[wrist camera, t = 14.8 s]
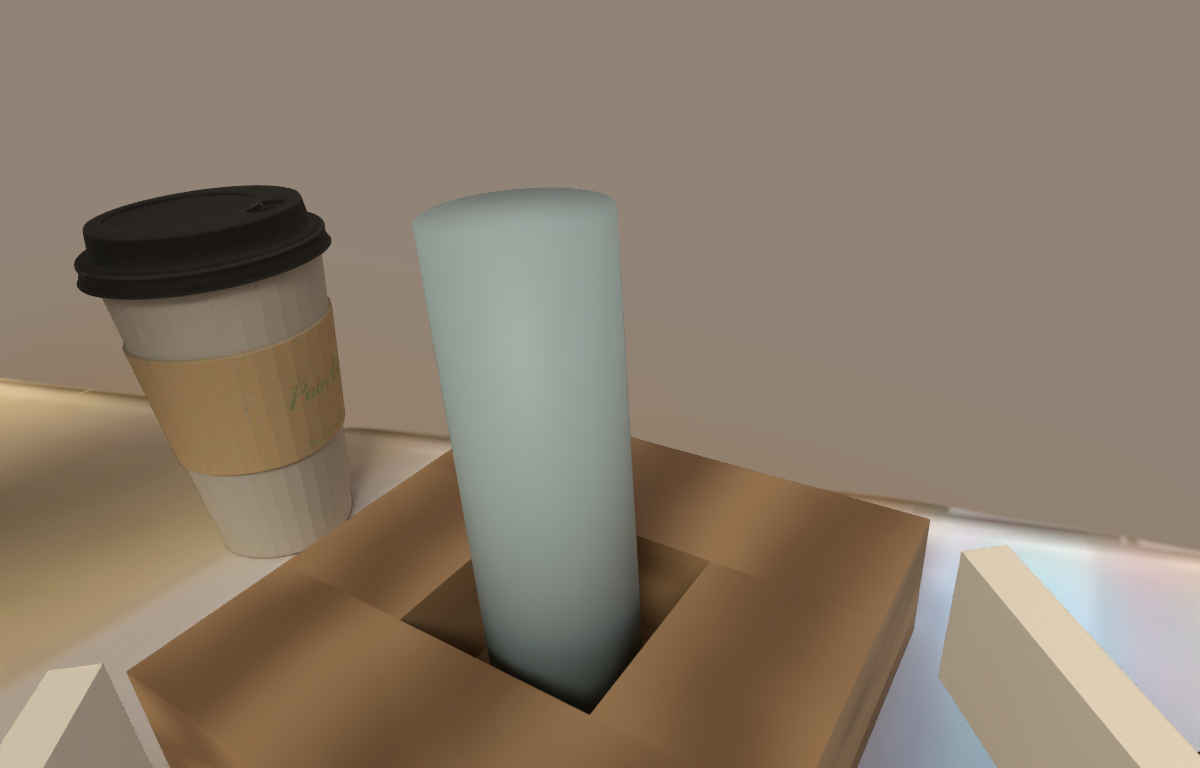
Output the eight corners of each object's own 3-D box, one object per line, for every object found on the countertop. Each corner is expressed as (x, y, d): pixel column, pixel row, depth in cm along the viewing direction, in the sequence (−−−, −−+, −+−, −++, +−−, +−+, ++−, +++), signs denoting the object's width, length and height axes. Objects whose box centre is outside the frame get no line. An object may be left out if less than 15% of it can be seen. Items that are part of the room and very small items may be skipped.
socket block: (178, 786, 25) (126, 671, 23) (526, 496, 38) (515, 405, 36) (680, 1196, 16) (676, 1072, 14) (913, 630, 29) (930, 519, 27)
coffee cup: (405, 546, 36) (333, 215, 29) (174, 614, 33) (33, 262, 26) (372, 449, 43) (309, 170, 37) (184, 496, 40) (78, 202, 34)
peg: (483, 746, 25) (386, 248, 18) (508, 629, 29) (439, 193, 22) (644, 746, 24) (613, 236, 17) (644, 627, 29) (620, 183, 22)
